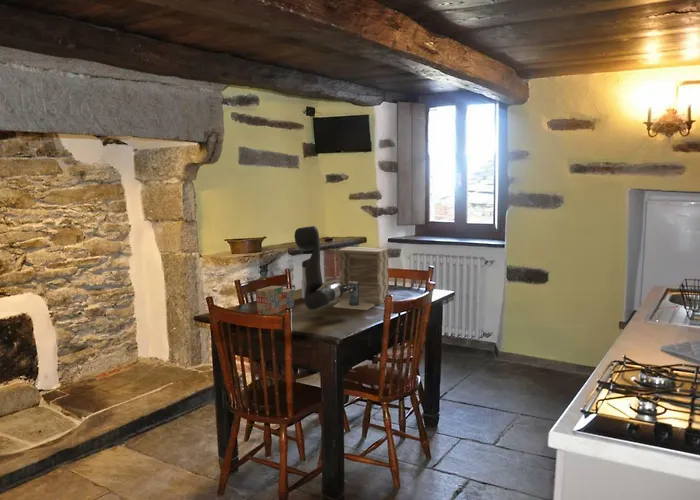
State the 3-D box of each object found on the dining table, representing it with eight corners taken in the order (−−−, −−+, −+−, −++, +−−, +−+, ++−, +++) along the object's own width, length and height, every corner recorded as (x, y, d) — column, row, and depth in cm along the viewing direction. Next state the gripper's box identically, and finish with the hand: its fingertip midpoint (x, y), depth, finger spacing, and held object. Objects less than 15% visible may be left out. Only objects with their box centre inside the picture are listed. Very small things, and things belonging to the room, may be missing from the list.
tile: (366, 309, 277) (366, 308, 277) (333, 307, 284) (333, 305, 284) (374, 305, 288) (374, 303, 287) (341, 302, 294) (341, 301, 294)
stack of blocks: (284, 306, 289) (284, 282, 287) (294, 307, 286) (294, 283, 284) (256, 315, 271) (256, 289, 269) (267, 316, 267) (266, 290, 266)
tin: (350, 306, 283) (350, 282, 281) (347, 304, 287) (347, 280, 286) (360, 305, 284) (360, 281, 283) (357, 303, 289) (357, 279, 288)
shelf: (380, 305, 288) (379, 251, 284) (338, 301, 296) (337, 250, 293) (389, 299, 301) (389, 248, 298) (349, 296, 310) (348, 246, 307)
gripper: (346, 284, 258) (359, 278, 272) (318, 282, 263) (332, 276, 278) (346, 301, 259) (359, 293, 274) (318, 298, 264) (332, 291, 279)
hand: (346, 285), depth 276 cm, fingers open, 8 cm apart
